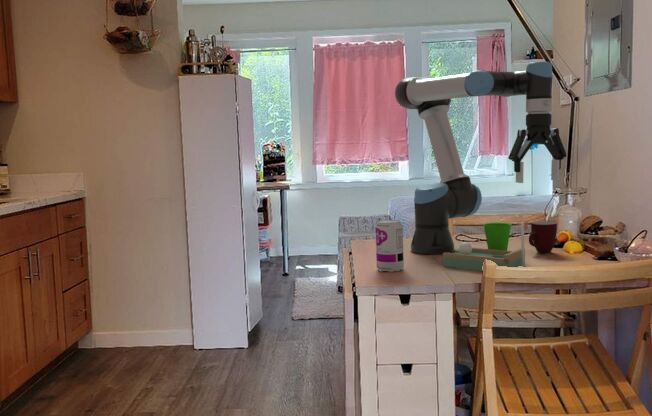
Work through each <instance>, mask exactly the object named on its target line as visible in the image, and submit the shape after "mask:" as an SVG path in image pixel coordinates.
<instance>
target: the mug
mask: <svg viewBox="0 0 652 416" xmlns="http://www.w3.org/2000/svg"><path fill="white" fill-rule="evenodd" d="M557 229H558V222H555V221H549V220H547V221H546V220H544V221H543V220H542V221H532V222H530V232H531V233H530V234H529V235H528V243H529V245H530V246H532V247H534V249H535V250H536V252H537V253H538V254H543V255H544V254H550V253H551V252H552V250H553V248H554V246H555V244H556V238H557V231H558V230H557Z"/></svg>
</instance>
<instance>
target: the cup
mask: <svg viewBox="0 0 652 416" xmlns="http://www.w3.org/2000/svg"><path fill="white" fill-rule="evenodd" d="M482 226H483V227H484V232H485V233H484V234H485V239H486V245H487V249H492V250H503V251H508V247H509V240H510V235H511V234H510V232H511V227H512V223H511V222H501V221H499V222H495V221H494V222H485V223H483V224H482Z"/></svg>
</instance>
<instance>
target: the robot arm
mask: <svg viewBox="0 0 652 416" xmlns="http://www.w3.org/2000/svg"><path fill="white" fill-rule="evenodd" d="M553 77H554V75H553V65H552V63H551V62H550V61H534V62H533V61H532V62H529V63H527V64H526V69H525V70H521V71H520V70H519V71H517V70H516V71H499V70H497V71H495V70H484V69H480V70H479V69H478V70H473V71H471V72H466V73H459V74H454V75H453V74H452V75H445V76H439V77H434V76H433V77H418V76H417V77H416V76H414V77H413V76H410V77H405V78H403V79H401V80H400V81H398V83H397V85H396V87H395V89H394V97H395V99H396V102H397V103H398V104H399V106H401V107H402V108H404V109H406V110H407V109H408V110H417V112H418V117H419V118H420V119H422V120H423V121H424V123H425V127H426V130H427V134H428V137H429V142H430V145H431V148H432V152H433V156H434V159H435V163H436V167H437V170H438V174H439V179H440V181H439V182H435V183H430V184H429V183H428V184H422V185H420V186H418V187H416V188H415V190H414V198H413V202H414V203H413V204H414V227H415V228H414V230H415V231H414V233H413V236H412V240H411V242H410V252H412V253H415V254H421V255H441V254H442V255H443V253H444V252H445V253H454V252H455V243H454V241H453V237H452V234H451V231H450V227H449V226H450V225H449V222H450V221H449V220H450V219H457V218H466V217H468V216H473V215H475V214H476V213H477V212H478V211H479V209H480V206H481V205H482V202H483V201H482V191H481V190H480V188H479V187H478V185H476V184H475V183H472V181H471V177H470V176H469V175H467V174H466V173H465V172H464V169H463V165H462V162H461V159H460V154H459V152H458V147H457V144H456V142H455V141H456V140H455V138H454V133H453V131H452V127H451V123H450V120H449V117H448V112H449V111H450V104H451V103H452V100H453V99H462V98H463V99H464V98H472V97H483V96H488V97H489V96H493V97H494V96H495V97H497V96H498V97H503V98H504V97H505V98H506V97H508V98H509V97H513V96H515V97H516V96H524V95H525V97H526V98H525V99H526V100H525V112H526V113H527V114H526V115H525V126H526V129H525V128H524V129H518V130H517V135H516V139H515V140H514V142H513V143H514V144H513V145H512V147H511V149H510V153H509V155H508V158H507V159H509V160H510V161H512V162H513V164H514V165H513V171H514V173H515V183H518V184H519V183H520V184H524V167H525V166H524V161H522V160H523V159H524V158H525V156H526V154H527V153H528V152H529V150H530V148H532V146H533V145H534V144H542V145H544V146H545V148H546V149H547V150H548V152H549V153H550V156H552V158H553V159H551V162H550V164H551V166H550V170H551V172H550V177H551V178H550V179H551V180H550V181H556V182H557V181H560V170H561V168H562V166H561V163H562V160H564V158H566V157H568V156H567V152H566V150H565V147H564V145H563V141H562V139H561V136H560V130H559V129H560V128H557V127H554V128H551V125H552V117H553V116H552V114H551V113H550V112H552V109H553V108H552V107H553V106H552V104H553V103H552V102H553V101H552V100H553V99H552V94H553V93H552V92H553V91H552V90H553Z"/></svg>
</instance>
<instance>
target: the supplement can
mask: <svg viewBox="0 0 652 416" xmlns="http://www.w3.org/2000/svg"><path fill="white" fill-rule="evenodd" d="M403 230H404V227H403V224H402V222H401V220H398V219H383V220H382V219H381V220H377V223H376V225H375V250H376V251H375V252H376V253H375V254H376V269H377V270H378V271H379V270H381V271H380V272H382V271H389V272H388V273H394V272H393V271H397V272H401V271H402V269H404V267H405V262H404V260H405V259H404V257H405V255H404V231H403ZM400 270H401V271H400Z"/></svg>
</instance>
